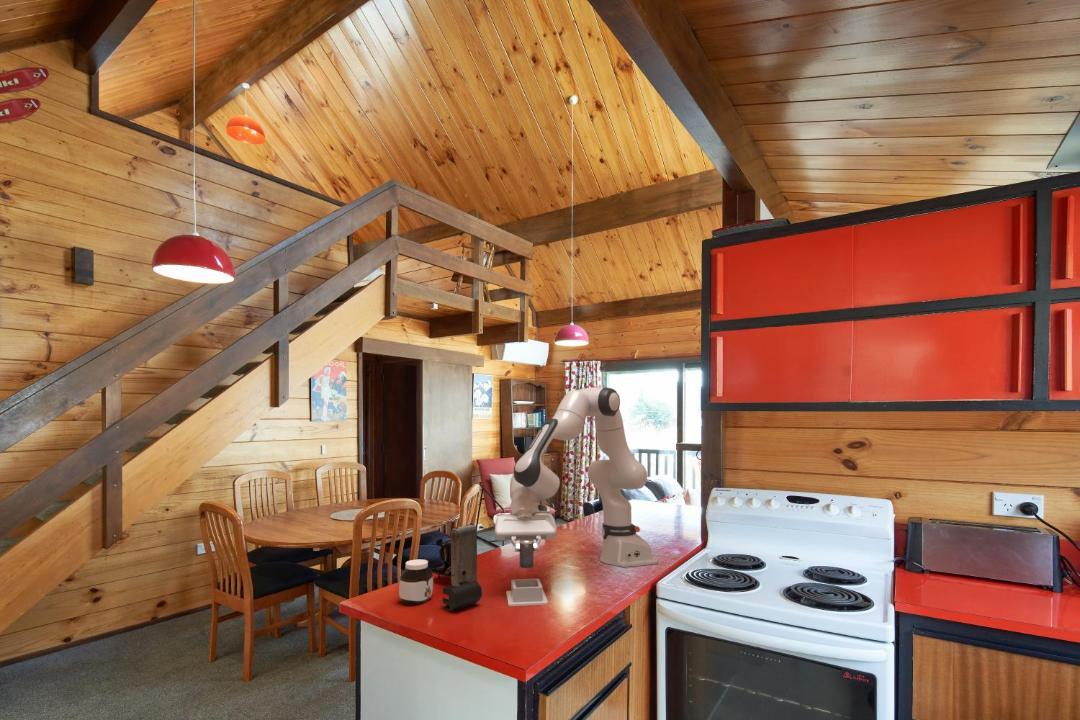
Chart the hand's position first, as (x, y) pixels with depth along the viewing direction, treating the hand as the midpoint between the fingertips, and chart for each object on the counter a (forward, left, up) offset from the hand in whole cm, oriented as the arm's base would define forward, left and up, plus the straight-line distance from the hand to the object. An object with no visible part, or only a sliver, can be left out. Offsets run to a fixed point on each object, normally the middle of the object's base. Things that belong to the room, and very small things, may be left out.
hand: (526, 550), depth 170 cm
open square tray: (0, -1, -15) cm, 15 cm away
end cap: (+20, +4, -15) cm, 25 cm away
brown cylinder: (0, -1, -5) cm, 5 cm away
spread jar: (+35, -5, -15) cm, 38 cm away
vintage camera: (+24, -20, -15) cm, 34 cm away
